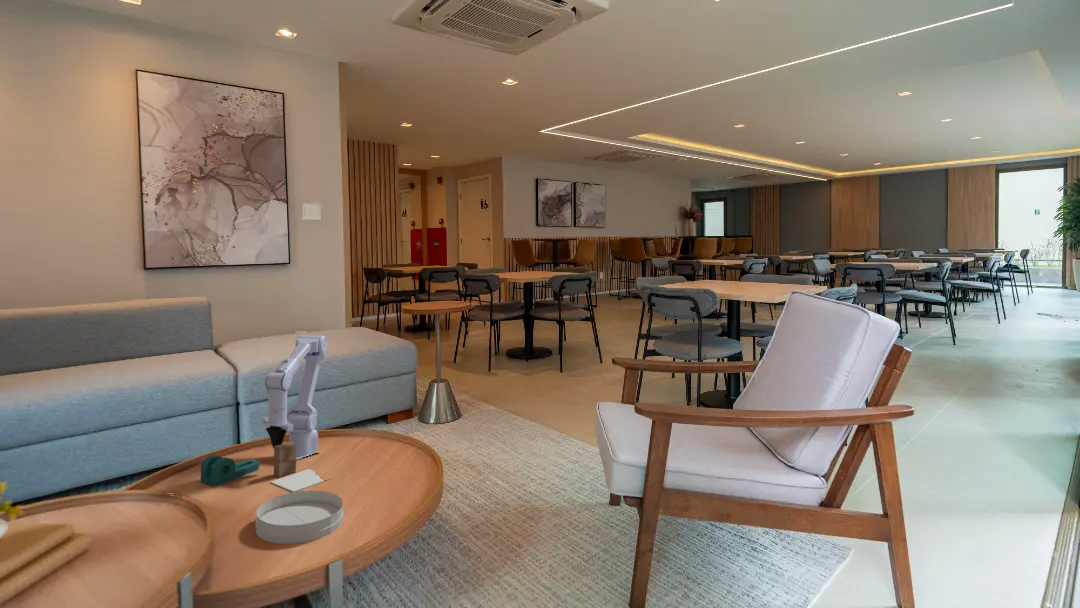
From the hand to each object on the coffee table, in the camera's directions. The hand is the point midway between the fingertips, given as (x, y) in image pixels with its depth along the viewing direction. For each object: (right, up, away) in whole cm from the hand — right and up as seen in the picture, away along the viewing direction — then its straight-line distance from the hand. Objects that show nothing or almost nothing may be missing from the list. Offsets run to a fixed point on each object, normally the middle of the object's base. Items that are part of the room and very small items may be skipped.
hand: (277, 447), depth 188 cm
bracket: (-12, -8, -4) cm, 15 cm away
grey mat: (+11, -9, -6) cm, 16 cm away
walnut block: (+3, -8, -2) cm, 9 cm away
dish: (+23, -12, -35) cm, 43 cm away
